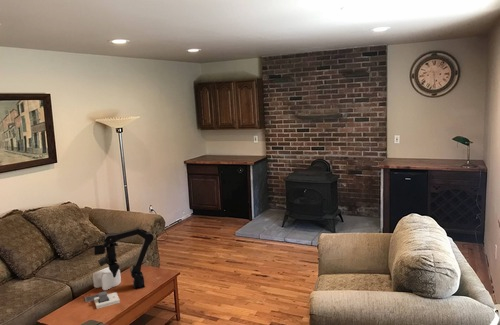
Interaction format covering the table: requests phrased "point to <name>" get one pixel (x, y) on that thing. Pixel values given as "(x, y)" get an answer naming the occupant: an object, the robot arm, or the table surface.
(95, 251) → the robot arm
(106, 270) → the cable organizer
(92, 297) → the phone
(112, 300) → the outlet plate
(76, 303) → the table surface
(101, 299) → the charger
